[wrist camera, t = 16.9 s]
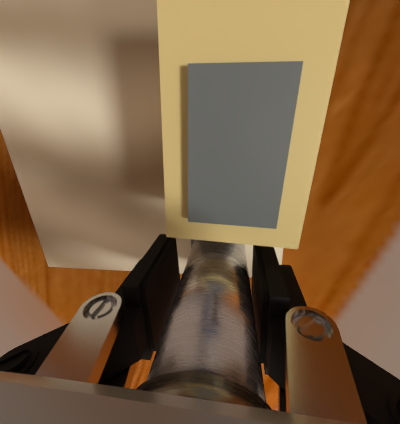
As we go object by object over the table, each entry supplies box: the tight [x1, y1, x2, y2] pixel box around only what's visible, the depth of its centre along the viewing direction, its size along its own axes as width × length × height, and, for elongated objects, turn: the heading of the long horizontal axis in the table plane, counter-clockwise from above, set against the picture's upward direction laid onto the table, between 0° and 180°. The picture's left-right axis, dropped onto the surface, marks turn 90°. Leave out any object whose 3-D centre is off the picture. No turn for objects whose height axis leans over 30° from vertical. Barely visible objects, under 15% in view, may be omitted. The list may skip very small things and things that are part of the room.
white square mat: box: [0, 0, 283, 277], centre depth 12 cm, size 14×15×1 cm
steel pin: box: [136, 240, 272, 410], centre depth 8 cm, size 3×3×9 cm
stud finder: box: [157, 0, 350, 249], centre depth 8 cm, size 7×4×4 cm, turn 178°
